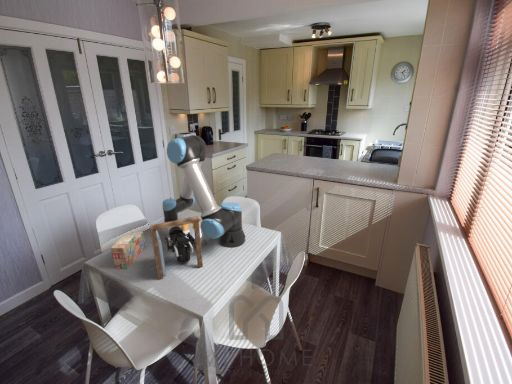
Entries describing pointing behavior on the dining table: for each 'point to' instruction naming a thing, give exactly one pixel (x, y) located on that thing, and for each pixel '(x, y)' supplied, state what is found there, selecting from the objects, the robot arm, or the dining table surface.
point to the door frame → (173, 224)
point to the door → (161, 254)
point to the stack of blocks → (127, 249)
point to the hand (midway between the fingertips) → (185, 252)
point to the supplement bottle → (183, 250)
